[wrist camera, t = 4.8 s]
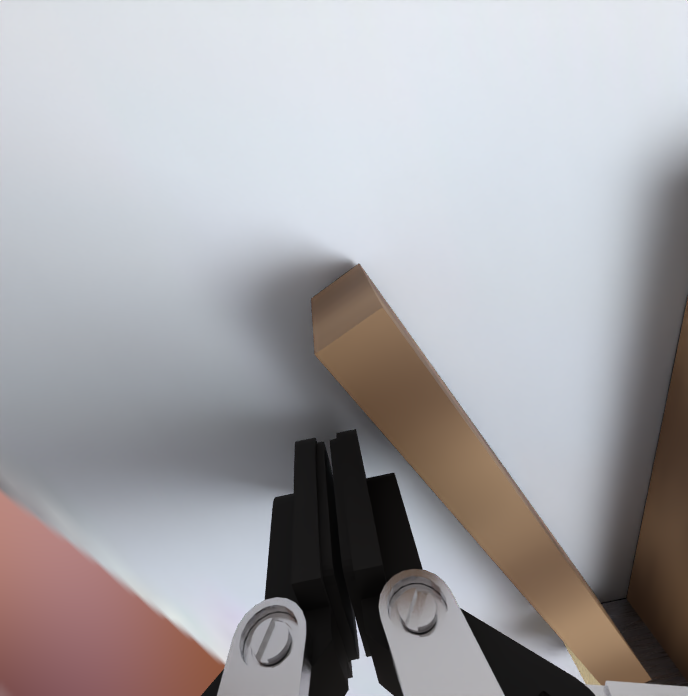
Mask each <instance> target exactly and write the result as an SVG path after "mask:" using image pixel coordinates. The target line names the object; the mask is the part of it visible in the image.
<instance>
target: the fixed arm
mask: <svg viewBox="0 0 688 696" xmlns="http://www.w3.org/2000/svg"><path fill="white" fill-rule="evenodd" d="M626 599H627V600H628V602H629V603H630V604H631V606H632V607H633V608H634V610H635V611H636V613H637V614H638V615H639V617H640V618H641V619H642V621H643V622H644V623H645V625H646V626H647V627H648V629H649V630H650V632H651V633H652V634H653V636H654V637H655V638H656V640H657V641H658V642H659V644H660V645H661V647H662V648H663V649H664V651H665V652H666V653H667V655H668V656H669V657H670V659H671V660H672V662H673V663H674V664H675V666H676V667H677V668H678V670H679V671H680V672H681V674H682V675H683V676H684V678H685V679H686V681H687V682H688V298H687V303H686V308H685V313H684V318H683V323H682V328H681V333H680V338H679V343H678V347H677V352H676V357H675V362H674V367H673V372H672V377H671V382H670V387H669V392H668V397H667V402H666V406H665V411H664V416H663V421H662V426H661V431H660V436H659V441H658V446H657V451H656V456H655V461H654V465H653V470H652V475H651V480H650V485H649V490H648V495H647V500H646V505H645V510H644V515H643V519H642V524H641V529H640V534H639V539H638V544H637V549H636V554H635V559H634V564H633V569H632V574H631V578H630V583H629V588H628V593H627V598H626Z"/></svg>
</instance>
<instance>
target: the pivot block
mask: <svg viewBox="0 0 688 696" xmlns="http://www.w3.org/2000/svg"><path fill="white" fill-rule="evenodd" d="M602 606H603V607H604V609H605V610H606V612H607V613H608V615H609V616H610V618H611V619H612V621H613V622H614V624H615V625H616V627H617V628H618V630H619V631H620V633H621V634H622V636H623V637H624V639H625V640H626V642H627V643H628V645H629V646H630V648H631V649H632V651H633V652H634V654H635V655H636V657H637V658H638V660H639V661H640V663H641V664H642V666H643V667H644V669H645V670H646V672H647V673H648V675H649V676H650V678H651V679H652V680H650V681H648V682H645V684H658V685H672V686H685V687H688V682H687V681H686V679H685V678H684V676H683V675H682V674H681V672H680V671H679V670H678V668H677V667H676V666H675V664H674V663H673V662H672V660H671V659H670V657H669V656H668V655H667V653H666V652H665V651H664V649H663V648H662V647H661V645H660V644H659V642H658V641H657V640H656V638H655V637H654V636H653V634H652V633H651V632H650V630H649V629H648V627H647V626H646V625H645V623H644V622H643V621H642V619H641V618H640V617H639V615H638V614H637V613H636V611H635V610H634V608H633V607H632V606H631V604H630V603H629V602H628V600H627V599H623V600H618V601H613V602H609V603H604V604H602Z"/></svg>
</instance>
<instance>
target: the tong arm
mask: <svg viewBox="0 0 688 696" xmlns="http://www.w3.org/2000/svg"><path fill="white" fill-rule="evenodd" d="M311 307H312V322H313V338H314V354H315V356H316V357H317V358H318V359H319V360H320V361H321V363H322V364H323V365H324V366H325V367H326V368H327V370H328V371H329V372H330V373H331V374H332V375H333V376H334V378H335V379H336V380H337V381H338V382H339V383H340V385H341V386H342V387H343V388H344V389H345V390H346V391H347V393H348V394H349V395H350V396H351V397H352V398H353V400H354V401H355V402H356V403H357V404H358V405H359V406H360V408H361V409H362V410H363V411H364V412H365V413H366V415H367V416H368V417H369V418H370V419H371V420H372V421H373V423H374V424H375V425H376V426H377V427H378V428H379V430H380V431H381V432H382V433H383V434H384V435H385V436H386V438H387V439H388V440H389V441H390V442H391V443H392V445H393V446H394V447H395V448H396V449H397V450H398V451H399V453H400V454H401V455H402V456H403V457H404V458H405V460H406V461H407V462H408V463H409V464H410V465H411V466H412V468H413V469H414V470H415V471H416V472H417V473H418V475H419V476H420V477H421V478H422V479H423V480H424V481H425V483H426V484H427V485H428V486H429V487H430V488H431V490H432V491H433V492H434V493H435V494H436V495H437V496H438V498H439V499H440V500H441V501H442V502H443V503H444V505H445V506H446V507H447V508H448V509H449V510H450V511H451V513H452V514H453V515H454V516H455V517H456V518H457V520H458V521H459V522H460V523H461V524H462V525H463V526H464V528H465V529H466V530H467V531H468V532H469V533H470V535H471V536H472V537H473V538H474V539H475V540H476V541H477V543H478V544H479V545H480V546H481V547H482V548H483V550H484V551H485V552H486V553H487V554H488V555H489V556H490V558H491V559H492V560H493V561H494V562H495V563H496V565H497V566H498V567H499V568H500V569H501V570H502V571H503V573H504V574H505V575H506V576H507V577H508V578H509V580H510V581H511V582H512V583H513V584H514V585H515V586H516V588H517V589H518V590H519V591H520V592H521V593H522V595H523V596H524V597H525V598H526V599H527V600H528V601H529V603H530V604H531V605H532V606H533V607H534V608H535V609H536V611H537V612H538V613H539V614H540V615H541V616H542V618H543V619H544V620H545V621H546V622H547V623H548V624H549V626H550V627H551V628H552V629H553V630H554V631H555V633H556V634H557V635H558V636H559V637H560V638H561V639H562V641H563V642H564V643H565V644H566V645H567V646H568V648H569V649H570V650H571V651H572V652H573V653H574V654H575V656H576V657H577V658H578V659H579V660H580V661H581V663H582V664H583V665H584V666H585V667H586V668H587V669H588V671H589V672H590V673H591V674H592V675H593V676H594V678H595V679H596V680H597V681H598V682H599V683H600V684H601V685H603V686H605V682H606V681H618V682H631V683H645V682H648V681H650V680H652V679H651V678H650V676H649V675H648V673H647V672H646V670H645V669H644V667H643V666H642V664H641V663H640V661H639V660H638V658H637V657H636V655H635V654H634V652H633V651H632V649H631V648H630V646H629V645H628V643H627V642H626V640H625V639H624V637H623V636H622V634H621V633H620V631H619V630H618V628H617V627H616V625H615V624H614V622H613V621H612V619H611V618H610V616H609V615H608V613H607V612H606V610H605V609H604V607H603V606H602V604H601V603H600V601H599V600H598V599H597V597H596V596H595V594H594V593H593V591H592V590H591V588H590V587H589V585H588V584H587V583H586V581H585V580H584V578H583V577H582V576H581V574H580V573H579V571H578V570H577V568H576V567H575V566H574V564H573V563H572V561H571V560H570V559H569V557H568V556H567V554H566V553H565V552H564V550H563V549H562V547H561V546H560V545H559V543H558V542H557V540H556V539H555V538H554V536H553V535H552V533H551V532H550V531H549V529H548V528H547V526H546V525H545V524H544V522H543V521H542V519H541V518H540V517H539V515H538V514H537V512H536V511H535V510H534V508H533V507H532V505H531V504H530V503H529V501H528V500H527V498H526V497H525V495H524V494H523V493H522V491H521V490H520V488H519V487H518V486H517V484H516V483H515V481H514V480H513V479H512V477H511V476H510V474H509V473H508V472H507V470H506V469H505V467H504V466H503V465H502V463H501V462H500V460H499V459H498V458H497V456H496V455H495V453H494V452H493V451H492V449H491V448H490V446H489V445H488V444H487V442H486V441H485V439H484V438H483V437H482V435H481V434H480V432H479V431H478V429H477V428H476V427H475V425H474V424H473V422H472V421H471V420H470V418H469V417H468V415H467V414H466V413H465V411H464V410H463V408H462V407H461V406H460V404H459V403H458V401H457V400H456V399H455V397H454V396H453V394H452V393H451V392H450V390H449V389H448V387H447V386H446V385H445V383H444V382H443V380H442V379H441V378H440V376H439V375H438V373H437V372H436V371H435V369H434V368H433V366H432V365H431V364H430V362H429V361H428V359H427V358H426V356H425V355H424V354H423V352H422V351H421V349H420V348H419V347H418V345H417V344H416V342H415V341H414V340H413V338H412V337H411V335H410V334H409V333H408V331H407V330H406V328H405V327H404V326H403V324H402V323H401V321H400V320H399V319H398V317H397V316H396V314H395V313H394V312H393V310H392V309H391V307H390V306H389V305H388V303H387V302H386V300H385V299H384V298H383V296H382V295H381V293H380V292H379V291H378V289H377V288H376V286H375V285H374V283H373V282H372V281H371V279H370V278H369V276H368V275H367V274H366V272H365V271H364V269H363V268H362V267H361V265H360V264H358V265H356V266H355V267H353V268H352V269H351V270H349V271H348V272H347V273H345V274H344V275H343V276H341V277H340V278H338V279H337V280H336V281H334V282H333V283H332V284H330V285H329V286H328V287H326V288H325V289H323V290H322V291H321V292H319V293H318V294H317V295H315V296H314V297H313V298H311Z"/></svg>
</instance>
